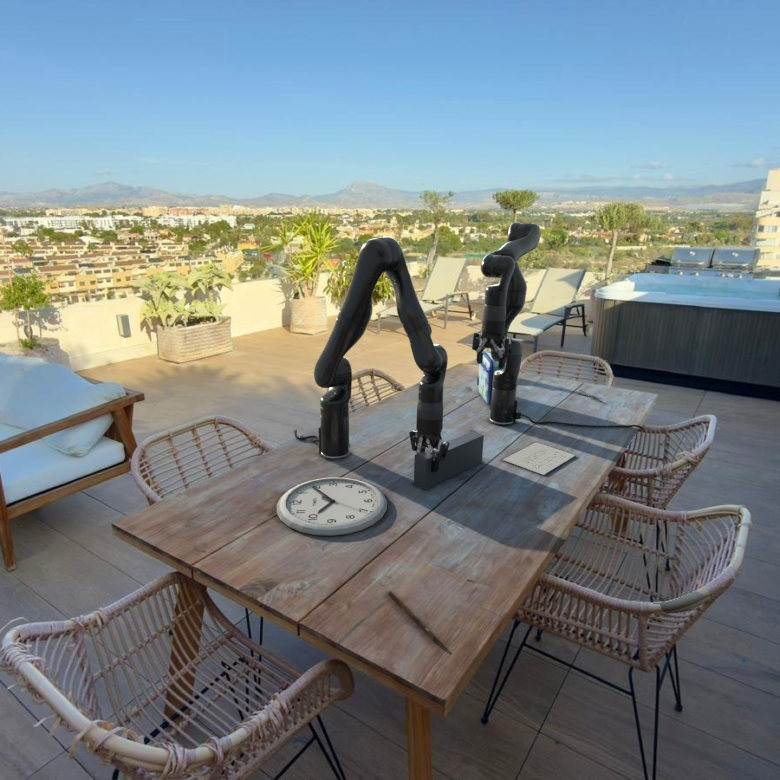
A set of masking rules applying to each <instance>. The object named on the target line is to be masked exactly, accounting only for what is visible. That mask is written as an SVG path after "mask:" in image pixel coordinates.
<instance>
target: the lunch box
mask: <svg viewBox="0 0 780 780" xmlns="http://www.w3.org/2000/svg"><path fill="white" fill-rule="evenodd" d="M498 364H499V361H495V360H493V359H492V357H491V351H483V363H481V364H478V377H477V381H476V384H477V385H476V386H478V393H479V395H480V396H481V397H482V399H483V400H484V402H485V404H487V405H488V406H489V405H490V406H491V398H492V385H493V374H494V372H495V371H498V370H503V369H505V366H506V363H505V366H504V367H503V368H502V369H499V368H498Z"/></svg>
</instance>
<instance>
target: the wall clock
mask: <svg viewBox="0 0 780 780" xmlns="http://www.w3.org/2000/svg"><path fill="white" fill-rule="evenodd" d="M387 509H388V500H387V498H386V496H385V494H384V493H383V492H382V491H381V490H380V489H379V488H377V487H376V486H374V485H372V484H371V483H369V482H365V481H362V480H359V479H355V478H349V477H338V476H337V477H335V476H333V477H332V476H331V477H322V478H317V479H312V480H307V481H305V482H302V483H299V484H297V485H295V486H293V487H292V488H290V489H288V490H287V491H286V492H285V493H284V494H283V495H281V496H280V498H279V499H278V502H277V503H276V515H277V517H278V518H279V520H280V521H281V522H282V523H283V524H285V525H286V526H287V527H288V528H290V529H293V530H295V531H297V532H299V533H303V534H308V535H312V536H327V537H328V536H329V537H331V536H332V537H333V536H342V535H350V534H352V533H356V532H361V531H363V530H366V529H368V528H369V527H372V526H373V525H375V524H376V523H378V522H379V521H380V520H381V519H382V518H383V517H384V516H385V514H386V512H387Z"/></svg>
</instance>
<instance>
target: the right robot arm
mask: <svg viewBox="0 0 780 780" xmlns="http://www.w3.org/2000/svg"><path fill="white" fill-rule="evenodd" d="M540 240H541V227H540V226H539V224H537V223H531V222H512V223H511V224H510V226H509V228H508V232H507V238H506V243H504V244H503V245H502V246H501V247H500V248H499V249H498V250H494V251H492V252H490V253H487V254H486V255H485V256H484V257H483V259H482V260H481V263H480V272H481V274H482V275H483V277H486V278H490V279H500V281H499V282H498V283H497V284H491V285H488V286H486V287H485V289H484V299H483V300H484V301H483V308H482V315H481V316H482V319H481V332H480V331H479V332H474V333H473V335H472V336H473V337H472V345H471V346H472V347H471V349H472V351H475V352H476V362H477V365H479V364H481V363H483V352H485V349H490V352H491V357H492V359H493V360H495V361H499V364H498V368H499V369H502V368H503V367H504V366H505V363H506V366H505V369H503V370H498V371H495V372H494V374H493V385H492V398H491V404H490V406H489V411H490V413H489V414H490V415H489V422H490V423H491V424H494V425H497V426H511V425H513V424H516V423H517V420H521V419H522V417H524V418H526V419H528V420H529V421H530V422H531V423H532V424H535V425H544V424H545V425H546V424H554V425H555V424H556V425H562V426H563V425H564V426H573V427H583V428H599V429H600V428H604V429H605V428H607V429H609V428H610V429H611V428H613V429H614V428H639V429H640V430H644V427H642V426H641V425H639V424H626V425H625V424H619V425H618V424H617V425H599V424H598V425H595V424H582V423H581V424H580V423H579V424H578V423H569V422H561V421H554V420H553V421H552V420H549V421H548V420H545V421H535V420H533V419H532V418H531V417H530V416H528V415H526V414H523V413H522V411H520V410H519V409H518V399H517V388H518V378H519V375H520V370H521V364H522V357H523V344H522V343H521V341H519V340H516V339H513V338H511V337H508V333H509V330H510V327H511V324H512V323H513V322H514V320H515V319H516V318H517V316H518V315H519V314H520V313H521V311H522V310H523V308H524V306H525V303H526V297H527V291H528V286H527V283H526V279H525V277H524V275H523V273H522V271H521V268H520V266H519V262H518V261H519V260H520V259H521V258H522V257H523V256H526V255H527V254H529V253H530V252H532V251H534V250H535V249H536V248H537V247H538V245H539V243H540ZM481 340H482V342H481Z"/></svg>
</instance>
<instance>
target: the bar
mask: <svg viewBox="0 0 780 780" xmlns="http://www.w3.org/2000/svg"><path fill="white" fill-rule="evenodd" d="M484 438H485V435H484V434H482V433H479V432H476V431H473V430H472V431H469V432H467V433H464V434H462V435H460V436H457V437H455V438H452V439H449V440H447V441H446V442H449V448H448V451H447V454H446V457H445V459H443V460H441V461H439V469H438V470H437V471H436V472H434V473H433V472H431V463H432V457H431V454H430V453H429V449H428V448H426V449H425V451H423V452H420V453H418V454H417V453H415V454H414V461H413V462H414V465H413V467H414V468H413V485H415V486H416V487H419V488H422V489H423V490H427V489H429V488H432V487H433V486H435V485H438V484H439V483H442V482H444V481H446V480H448V479H450V478H452V477H454V476H456V475H458V474H460V473H463V472H464V471H467V470H469V469H470V468H473V467H475V466H477V465H479V464H481V463H482V462H483V453H484V442H485V441H484ZM439 446H440V444H439ZM434 449H435V448H433V450H434ZM435 456H436V453H435Z"/></svg>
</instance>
